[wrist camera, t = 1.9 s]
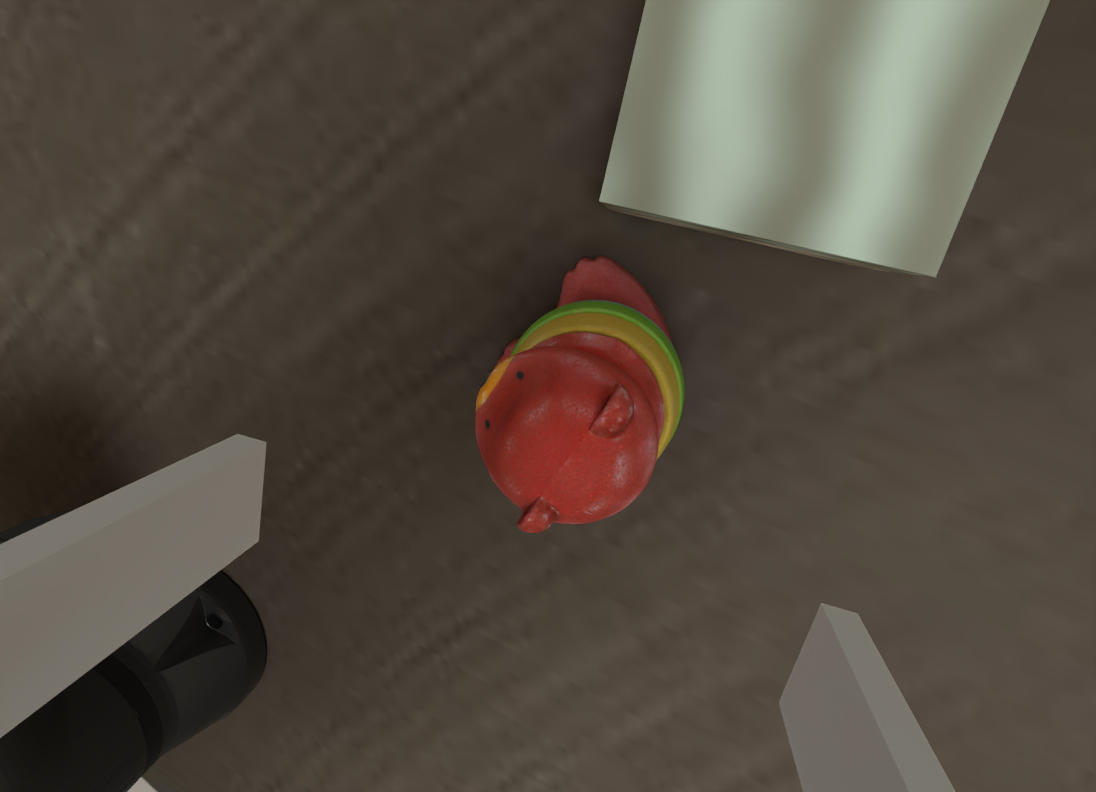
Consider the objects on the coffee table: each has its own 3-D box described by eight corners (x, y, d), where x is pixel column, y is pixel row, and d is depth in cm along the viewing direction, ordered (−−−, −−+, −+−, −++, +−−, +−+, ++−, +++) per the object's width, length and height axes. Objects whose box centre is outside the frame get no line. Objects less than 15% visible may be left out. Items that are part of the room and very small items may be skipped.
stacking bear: (593, 240, 35) (540, 238, 18) (719, 349, 35) (784, 450, 18) (486, 371, 38) (355, 476, 21) (602, 470, 38) (566, 650, 21)
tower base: (610, 210, 34) (598, 201, 26) (681, -88, 30) (693, -202, 22) (868, 268, 32) (935, 277, 25) (983, -37, 28) (1107, -140, 21)
